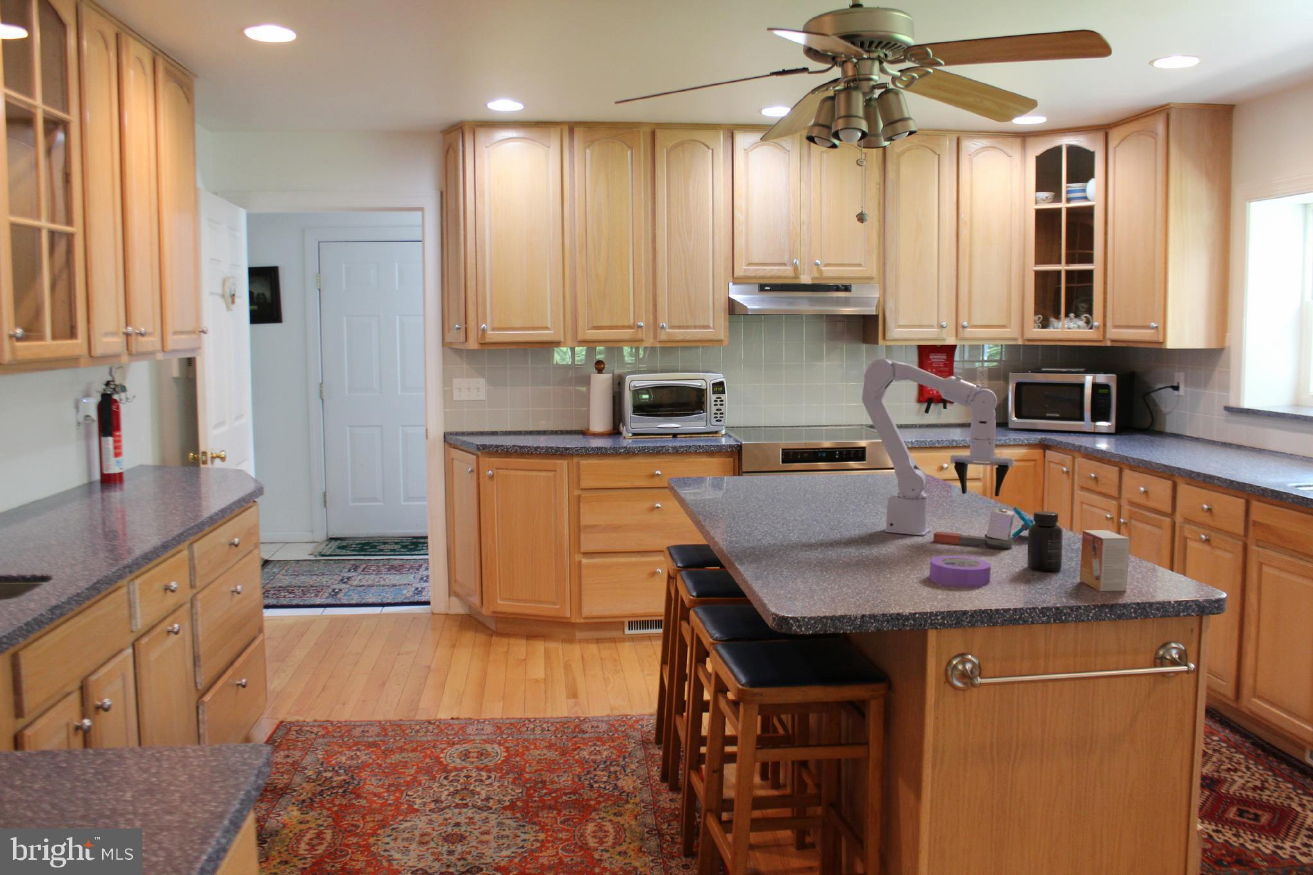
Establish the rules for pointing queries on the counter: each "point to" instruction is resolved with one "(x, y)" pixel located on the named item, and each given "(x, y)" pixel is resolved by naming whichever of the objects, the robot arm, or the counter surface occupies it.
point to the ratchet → (972, 540)
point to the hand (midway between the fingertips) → (980, 494)
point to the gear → (1026, 521)
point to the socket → (1000, 524)
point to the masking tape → (960, 571)
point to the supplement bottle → (1045, 543)
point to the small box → (1104, 560)
